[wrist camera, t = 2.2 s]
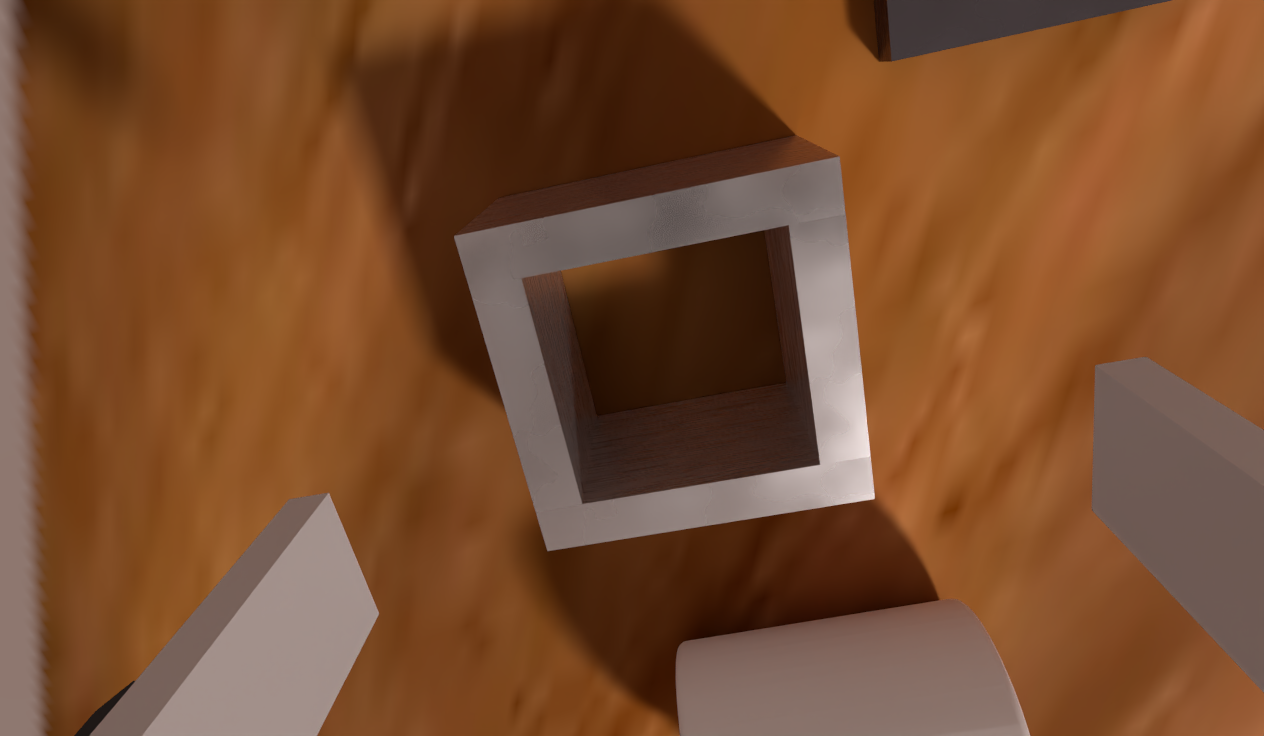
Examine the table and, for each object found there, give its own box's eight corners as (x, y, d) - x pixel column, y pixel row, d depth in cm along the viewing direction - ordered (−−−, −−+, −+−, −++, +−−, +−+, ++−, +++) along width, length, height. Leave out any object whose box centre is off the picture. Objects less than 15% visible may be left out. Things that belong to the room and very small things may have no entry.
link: (568, 455, 26) (547, 551, 21) (498, 197, 23) (453, 236, 18) (830, 410, 25) (875, 498, 20) (796, 134, 22) (839, 156, 17)
